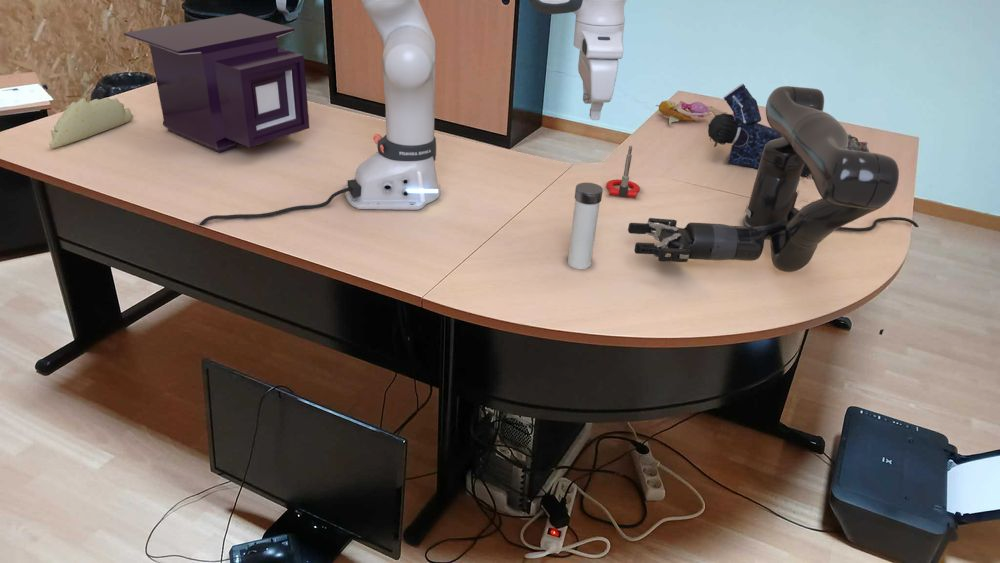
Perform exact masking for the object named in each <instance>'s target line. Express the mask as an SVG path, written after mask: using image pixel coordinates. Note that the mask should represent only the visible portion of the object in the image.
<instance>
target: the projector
mask: <svg viewBox="0 0 1000 563" xmlns="http://www.w3.org/2000/svg"><path fill="white" fill-rule="evenodd" d="M294 31H295V28H294V27H292V26H287V25H283V24H279V23H276V22H272V21H269V20H264V19H262V18H259V17H256V16H255V17H254V16H252V15H247V14H244V13H235V14H230V15H224V16H217V17H212V18H205V19H200V20H194V21H188V22H181V23H175V24H169V25H163V26H157V27H151V28H146V29H145V28H144V29H139V30H134V31H128V32H123V36H125V37H127V38H130V39H133V40H136V41H138V42H142V43H145V44H148V45H149V50H150V54H151V60H152V66H153V71H154V75H155V76H154V77H155V82H156V87H157V92H158V97H159V102H160V107H161V113H162V118H163V122H162V126H163V127H165V128H166V129H167V131H168V132H170V133H172V134H175V135H177V136H179V137H182V138H184V139H187V140H189V141H191V142H193V143H196V144H197V145H200V146H203V147H205V148H207V149H209V150H212V151H215V152H217V153H219V154H220V153H224V152H227V151H229V150H233V149H235V148H237V144H240V145H242V146H245V147H247V148H249V149H250V148H253V147H256V146H259V145H262V144H266V143H269V142H271V141H275V140H278V139H281V138H285V137H287V136H289V135H293V134H296V133H300V132H302V131H305V130H308V129H310V118H309V105H308V94H307V93H308V92H307V80H306V79H307V78H306V68H305V56H304V54H303V53H302V54H301V53H297V52H296V51H295V52H294V51H291V50H288V49H285V48H282V47H279V44H278V40H277V38H280V37H282V36H286V35H287V34H291V33H292V32H294Z"/></svg>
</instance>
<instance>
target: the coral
mask: <svg viewBox="0 0 1000 563" xmlns="http://www.w3.org/2000/svg"><path fill="white" fill-rule="evenodd" d="M846 133H847V135H848V147H847V150H854V151H862V152H869V153H871V151H870V149H869V147H868V142H867V141H859V139H858V137H855V136H853V135H852V134H851V133H849V132H848V131H846Z"/></svg>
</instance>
